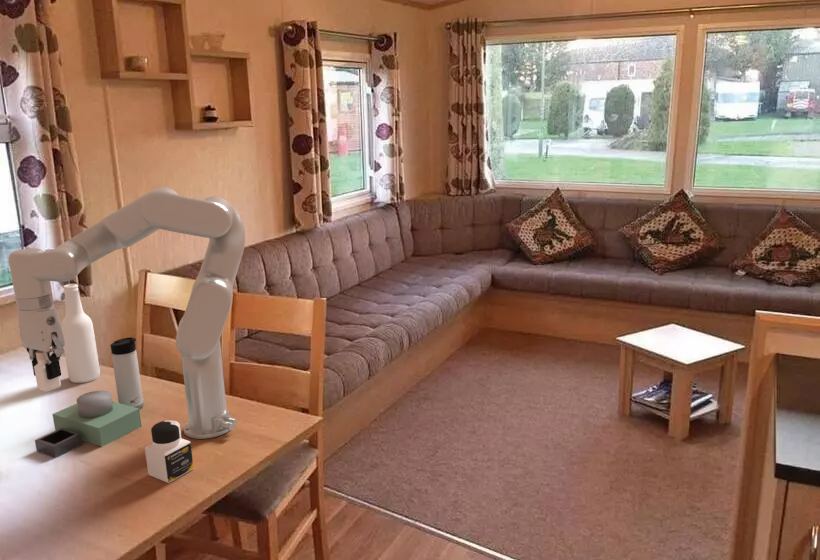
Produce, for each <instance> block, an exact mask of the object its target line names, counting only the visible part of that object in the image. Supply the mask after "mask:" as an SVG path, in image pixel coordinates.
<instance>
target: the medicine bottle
mask: <svg viewBox="0 0 820 560" xmlns="http://www.w3.org/2000/svg"><path fill="white" fill-rule="evenodd" d="M150 433H151V439H152V443H150V444H148V445H147V446H145V447H144V454H145V460H146V466H147V467H146V468H147V472H148V476H151V477H152V478H155V479H157V480H159V481H162V482H164V483H167V484H170V483H172V482H173V481H175V480H177V479H179V478H180V477H182V476H184V475H186V474H187V473H189V472H191V471H193V470H194V461H193V453H192V452H193V450H192V443H191V441H190V440H187V439H184V438H182V431H181V425H180V423H179V422H178V421H177V420H171V419H167V420H162V421H159V422H157V423H155V424H154V425H152V427H151V428H150Z"/></svg>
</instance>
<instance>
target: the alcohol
mask: <svg viewBox="0 0 820 560" xmlns="http://www.w3.org/2000/svg"><path fill="white" fill-rule="evenodd" d="M78 287H79V285H78V284H77V283H68V284H65V285H63V292H64V302H65V316H64V318H62V320H61V321H60V322H61V325H62V330H63V334H64V339H65V346H63V349H64V357H65V364H66V367H67V368H66V369H67V373H68V374H67V375H68V379H69V381H70V382H71V383H74V384H87V383H89V382H93V381H96V380H97V379H99V377H100V376H101V371H100V369H101V368H100V363H99V355H98V349H97V341H96V336H95V331H94V324H93V321H92V319H91V317H90V316H88V315H87V313H85V311H84V309H83V304H82V300H81V297H80V293H79V288H78Z"/></svg>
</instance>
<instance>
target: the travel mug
mask: <svg viewBox="0 0 820 560" xmlns="http://www.w3.org/2000/svg"><path fill="white" fill-rule="evenodd" d="M136 341H137V339H136V337H125V338H120V339H118V340H114V341H113V342H112V343H110V351H111V358H112V359H111V360H112V366H113V373H114V381H115V385H116V386H115V388H116V393H117V401H118V402H117V403H120V404H124V405H128V406H131V407H135V408H139V410H140V409H141V408H143V407H144V396H143V391H142V390H143V389H142V384H141V383H142V382H141V377H140V376H141V375H140V368H139V367H140V366H139V359H138V353H137V347H136Z"/></svg>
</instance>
